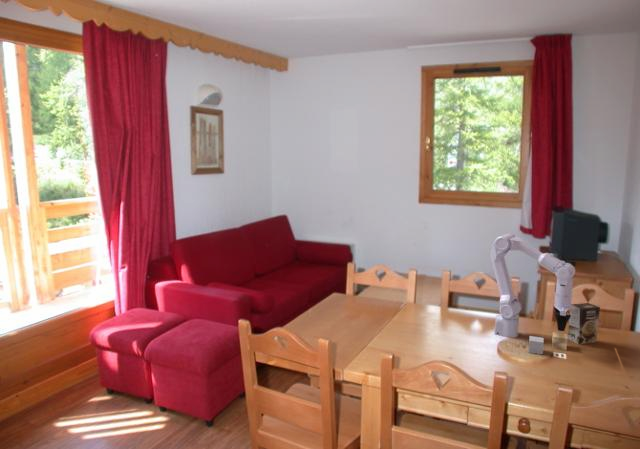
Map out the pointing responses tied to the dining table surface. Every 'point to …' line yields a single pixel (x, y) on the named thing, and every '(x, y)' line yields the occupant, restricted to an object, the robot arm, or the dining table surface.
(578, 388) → the dining table surface
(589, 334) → the coffee box
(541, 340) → the grey block
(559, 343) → the maple block
